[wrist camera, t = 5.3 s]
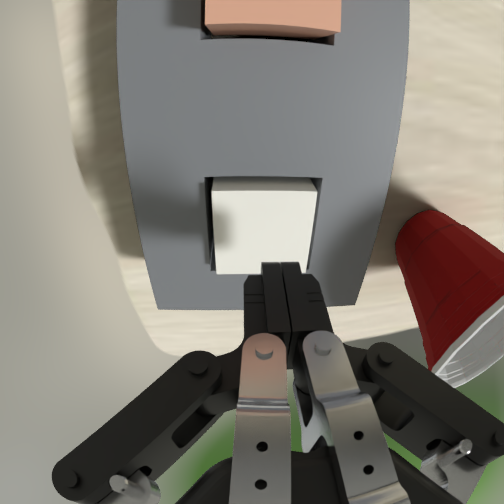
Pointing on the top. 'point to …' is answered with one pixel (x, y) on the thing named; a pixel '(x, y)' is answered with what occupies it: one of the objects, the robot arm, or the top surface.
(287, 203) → the ivory key
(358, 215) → the key panel
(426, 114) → the top surface
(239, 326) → the top surface
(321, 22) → the terracotta key
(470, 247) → the plastic cup
